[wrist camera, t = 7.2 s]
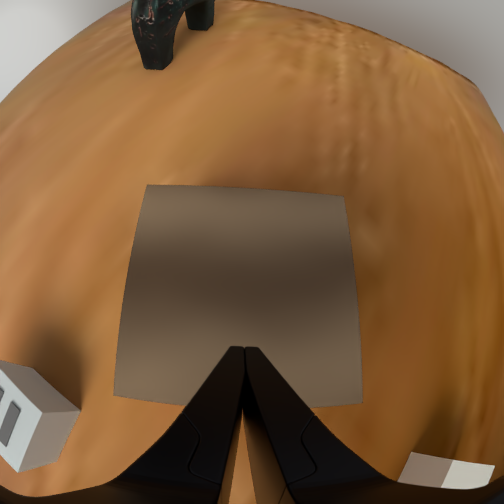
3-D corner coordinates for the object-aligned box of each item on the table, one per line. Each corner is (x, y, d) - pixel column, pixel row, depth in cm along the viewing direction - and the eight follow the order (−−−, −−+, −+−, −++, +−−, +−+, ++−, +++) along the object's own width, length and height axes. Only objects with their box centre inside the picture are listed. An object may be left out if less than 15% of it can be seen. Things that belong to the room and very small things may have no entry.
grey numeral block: (57, 461, 13) (16, 473, 9) (11, 417, 14) (-33, 416, 9) (81, 410, 15) (40, 412, 11) (33, 368, 16) (-11, 357, 11)
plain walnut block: (313, 399, 17) (362, 402, 11) (155, 393, 17) (113, 395, 10) (309, 256, 22) (343, 196, 15) (169, 249, 21) (147, 184, 14)
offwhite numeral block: (427, 514, 13) (466, 529, 8) (381, 510, 13) (418, 531, 9) (452, 460, 15) (496, 465, 10) (410, 451, 16) (454, 459, 11)
